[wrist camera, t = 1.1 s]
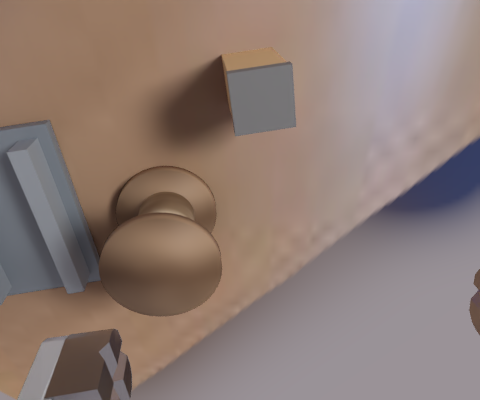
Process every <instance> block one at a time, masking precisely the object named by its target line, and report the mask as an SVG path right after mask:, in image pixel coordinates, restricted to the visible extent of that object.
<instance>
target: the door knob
mask: <svg viewBox="0 0 480 400" xmlns="http://www.w3.org/2000/svg"><path fill="white" fill-rule="evenodd" d="M116 219H117V223H118V227H117V228H116V229H115V230H114V231H113V232H112V233H111V234H110V235H109V237H108V238H107V240H106V242H105V244H104V247H103V249H102V253H101V256H100V260H99V275H100V279H101V282H102V284H103V286H104V288H105V290H106V291H107V293H108V294H109V295H110V296H111V297H112V298H113V299H114V300H115V301H116V302H117V303H119V304H120V305H122V306H123V307H125V308H127V309H129V310H131V311H134V312H137V313H140V314H144V315H149V316H172V315H178V314H182V313H185V312H188V311H190V310H192V309H195V308H196V307H198V306H200V305H201V304H203V303H204V302H205V301H206V300H207V299H208V298H209V297H211V295H212V294H213V293H214V292H215V290H216V288H217V287H218V284H219V282H220V279H221V275H222V263H221V253H220V250H219V247H218V244H217V242H216V240H215V239H214V237H213V236H212V235H211V232H212V231H213V228H214V226H215V222H216V205H215V200H214V196H213V194H212V192H211V190H210V188H209V187H208V186H207V184H206V183H205V182H204V181H203V180H202V179H201V178H199V177H198V176H197V175H195V174H193V173H192V172H190V171H187V170H185V169H182V168H178V167H172V166H159V167H153V168H149V169H146V170H144V171H142V172H140V173H138V174H136V175H135V176H133V177H132V178H131V179H130V180H129V181H128V182H127V183H126V184H125V186H124V187H123V189H122V191H121V193H120V195H119V198H118V202H117V206H116Z"/></svg>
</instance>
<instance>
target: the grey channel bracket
mask: <svg viewBox="0 0 480 400" xmlns="http://www.w3.org/2000/svg"><path fill="white" fill-rule="evenodd" d="M99 260H100V258H99V255H98V252H97V249H96V247H95V244H94V241H93V238H92V236H91V233H90V230H89V227H88V225H87V222H86V219H85V216H84V214H83V211H82V208H81V205H80V203H79V200H78V197H77V194H76V192H75V189H74V186H73V183H72V181H71V178H70V175H69V172H68V170H67V167H66V164H65V161H64V159H63V156H62V153H61V150H60V148H59V145H58V142H57V139H56V137H55V134H54V131H53V128H52V126H51V123H50V120H45V121H38V122H32V123H25V124H19V125H12V126H5V127H0V305H2V303H3V302H4V300H5V298H6V296H9V295H15V294H21V293H27V292H33V291H39V290H45V289H51V288H58V287H64V286H65V288H66V291H67V293H68V294H70V293H76V292H82V291H85V288H86V285H87V283H88V282H94V281H100V280H101V279H100V275H99Z"/></svg>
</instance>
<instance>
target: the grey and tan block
mask: <svg viewBox="0 0 480 400" xmlns="http://www.w3.org/2000/svg"><path fill="white" fill-rule="evenodd" d="M222 62H223V69H224V76H225V83H226V91H227V98H228V105H229V108H230V112H231V116H232V119H233V125H234V132H235V136H240V135H247V134H253V133H259V132H266V131H272V130H279V129H285V128H292V127H296V116H295V100H294V83H293V67H292V63H291V62H286V61H285V60H284V59H283V58H282V57H281V56H280V55H279V54H278V53H277V52H276V51H275V50H274V49H273V48H272V47H270V48H263V49H257V50H250V51H243V52H237V53H230V54H223V55H222Z"/></svg>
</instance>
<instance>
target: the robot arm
mask: <svg viewBox="0 0 480 400" xmlns="http://www.w3.org/2000/svg"><path fill="white" fill-rule="evenodd" d="M474 285H475V286H476V287H477V288H478V291H477V293H476V294H475V295H474V296H473V297H472V298H471V302H470V315H471V319H472V323H473V325H474V326H475V329H476V330H477V332H478V333H479V335H480V269H479V270H478V272H477V273H476V274H475V279H474ZM121 344H122V340H121V337H120V335H119V332H118V330H116V329H108V330H101V331H93V332H86V333H79V334H72V335H69V336H61V337H53V338H47V339H46V340H45V341H43V342H42V344H41V345H40V348H39V350H38V352H37V355H36V357H35V359H34V362H33V364H32V366H31V369H30V371H29V373H28V376H27V378H26V380H25V383H24V385H23V387H22V390H21V392H20V394H19V397H18V399H17V400H130V398H131V390H132V373H131V367H130V362H129V359H128V356H127V355H126V354H124V353H123V352H121V351H120V349H121Z"/></svg>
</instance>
